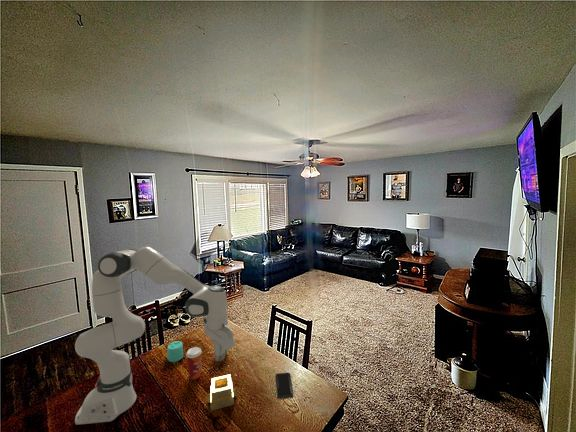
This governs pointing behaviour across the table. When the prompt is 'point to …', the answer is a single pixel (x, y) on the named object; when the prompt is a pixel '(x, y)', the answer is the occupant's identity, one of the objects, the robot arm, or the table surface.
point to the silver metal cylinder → (218, 352)
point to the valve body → (221, 392)
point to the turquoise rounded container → (175, 351)
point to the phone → (283, 385)
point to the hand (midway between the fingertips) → (219, 350)
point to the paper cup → (194, 362)
